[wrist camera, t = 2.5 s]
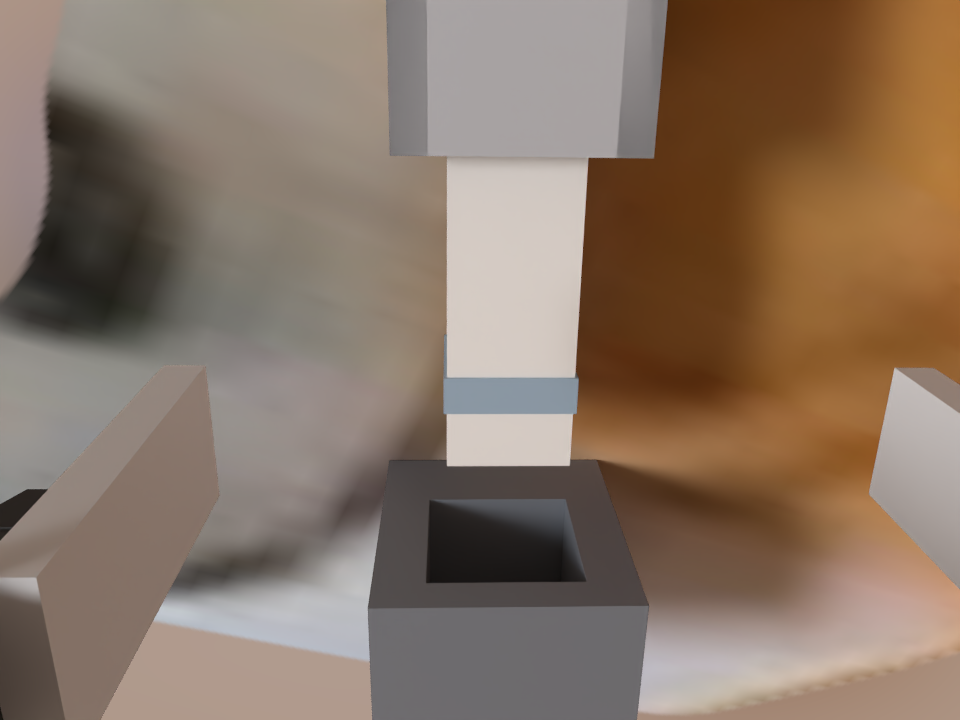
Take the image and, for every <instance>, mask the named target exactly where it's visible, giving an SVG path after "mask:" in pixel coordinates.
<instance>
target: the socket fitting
mask: <svg viewBox="0 0 960 720" xmlns="http://www.w3.org/2000/svg"><path fill="white" fill-rule="evenodd" d="M648 610H649V604H648V602H647V599H646V596H645V593H644V591H643V588H642V585H641V582H640V579H639V577H638V574H637V571H636V568H635V565H634V563H633V560H632V557H631V554H630V552H629V549H628V546H627V543H626V540H625V538H624V535H623V532H622V529H621V526H620V524H619V521H618V518H617V515H616V512H615V510H614V507H613V504H612V501H611V499H610V496H609V493H608V490H607V487H606V485H605V482H604V479H603V476H602V473H601V471H600V468H599V465H598V462H597V460H570V466H447V460H415V461H389V467H388V474H387V481H386V487H385V494H384V501H383V508H382V515H381V522H380V529H379V535H378V542H377V549H376V556H375V563H374V570H373V577H372V583H371V590H370V597H369V604H368V625H369V650H370V674H371V698H372V720H637V714H638V704H639V695H640V686H641V676H642V667H643V657H644V648H645V639H646V629H647V620H648Z"/></svg>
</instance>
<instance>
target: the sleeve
mask: <svg viewBox="0 0 960 720" xmlns="http://www.w3.org/2000/svg"><path fill="white" fill-rule="evenodd" d="M667 4H668V0H386V13H387V55H388V98H389V140H390V155H391V156H482V157H572V158H654V151H655V140H656V129H657V118H658V106H659V95H660V84H661V72H662V61H663V50H664V38H665V27H666V16H667Z"/></svg>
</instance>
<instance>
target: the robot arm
mask: <svg viewBox="0 0 960 720" xmlns="http://www.w3.org/2000/svg"><path fill="white" fill-rule="evenodd" d="M869 495H870V496H871V497H872V498H873V499H874V500H875V501H876V502H877V503H878V504H879V505H880V506H881V507H882V508H883V509H884V510H885V511H886V513H887V514H888V515H889V516H890V517H891V518H892V519H893V520H894V521H895V522H896V523H897V524H898V525H899V526H900V527H901V528H902V529H903V530H904V531H905V532H906V534H907V535H908V536H909V537H910V538H911V539H912V540H913V541H914V542H915V543H916V544H917V545H918V546H919V547H920V548H921V549H922V550H923V551H924V552H925V553H926V554H927V556H928V557H929V558H930V559H931V560H932V561H933V562H934V563H935V564H936V565H937V566H938V567H939V568H940V569H941V570H942V571H943V572H944V573H945V574H946V575H947V577H948V578H949V579H950V580H951V581H952V582H953V583H954V584H955V585H956V586H957V587H958V588H959V589H960V385H959V384H958V383H956V382H955V381H953V380H951V379H950V378H948V377H947V376H945V375H944V374H942V373H941V372H939V371H938V370H936V369H934V368H895V369H894V373H893V378H892V383H891V388H890V393H889V398H888V403H887V408H886V412H885V417H884V422H883V427H882V432H881V437H880V442H879V446H878V451H877V456H876V461H875V466H874V471H873V476H872V481H871V485H870V490H869ZM218 497H219V486H218V477H217V468H216V458H215V449H214V440H213V431H212V421H211V412H210V403H209V393H208V384H207V375H206V366H205V365H164V366H163V367H162V368H161V369H160V370H159V371H158V372H157V373H156V374H155V375H154V377H153V378H152V379H151V380H150V381H149V382H148V383H147V384H146V385H145V386H144V387H143V388H142V389H141V390H140V392H139V393H138V394H137V395H136V396H135V397H134V398H133V399H132V400H131V401H130V402H129V403H128V404H127V405H126V407H125V408H124V409H123V410H122V411H121V412H120V413H119V414H118V415H117V416H116V417H115V418H114V419H113V420H112V422H111V423H110V424H109V425H108V426H107V427H106V428H105V429H104V430H103V431H102V432H101V433H100V434H99V435H98V437H97V438H96V439H95V440H94V441H93V442H92V443H91V444H90V445H89V446H88V447H87V448H86V449H85V450H84V452H83V453H82V454H81V455H80V456H79V457H78V458H77V459H76V460H75V461H74V462H73V463H72V464H71V465H70V467H69V468H68V469H67V470H66V471H65V472H64V473H63V474H62V475H61V476H60V477H59V478H58V479H57V480H56V482H55V483H54V484H53V485H52V486H51V487H50V488H49V489H27V490H25V491H23V492H22V493H20V494H18V495H16V496H14V497H13V498H11V499H9V500H7V501H5V502H4V503H2V504H0V720H101V718H102V716H103V714H104V712H105V710H106V708H107V707H108V705H109V703H110V701H111V699H112V697H113V695H114V693H115V691H116V690H117V688H118V686H119V684H120V682H121V680H122V678H123V676H124V674H125V672H126V671H127V669H128V667H129V665H130V663H131V661H132V659H133V657H134V656H135V654H136V652H137V650H138V648H139V646H140V644H141V642H142V641H143V639H144V637H145V635H146V633H147V631H148V629H149V627H150V625H151V624H152V622H153V620H154V618H155V616H156V614H157V612H158V610H159V608H160V607H161V605H162V603H163V601H164V599H165V597H166V595H167V593H168V591H169V590H170V588H171V586H172V584H173V582H174V580H175V578H176V576H177V575H178V573H179V571H180V569H181V567H182V565H183V563H184V561H185V559H186V558H187V556H188V554H189V552H190V550H191V548H192V546H193V544H194V542H195V541H196V539H197V537H198V535H199V533H200V531H201V529H202V527H203V525H204V524H205V522H206V520H207V518H208V516H209V514H210V512H211V510H212V508H213V507H214V505H215V503H216V501H217V499H218Z"/></svg>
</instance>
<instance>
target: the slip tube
mask: <svg viewBox="0 0 960 720" xmlns="http://www.w3.org/2000/svg"><path fill="white" fill-rule="evenodd" d="M587 173H588V158H572V157H482V156H447V335H445V334H444V414H447V466H570V453H571V436H572V420H573V414H577V398H578V382H579V378H578V376H577V373H576V371H575V370H576V354H577V337H578V321H579V304H580V288H581V271H582V255H583V239H584V222H585V206H586V189H587Z"/></svg>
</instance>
